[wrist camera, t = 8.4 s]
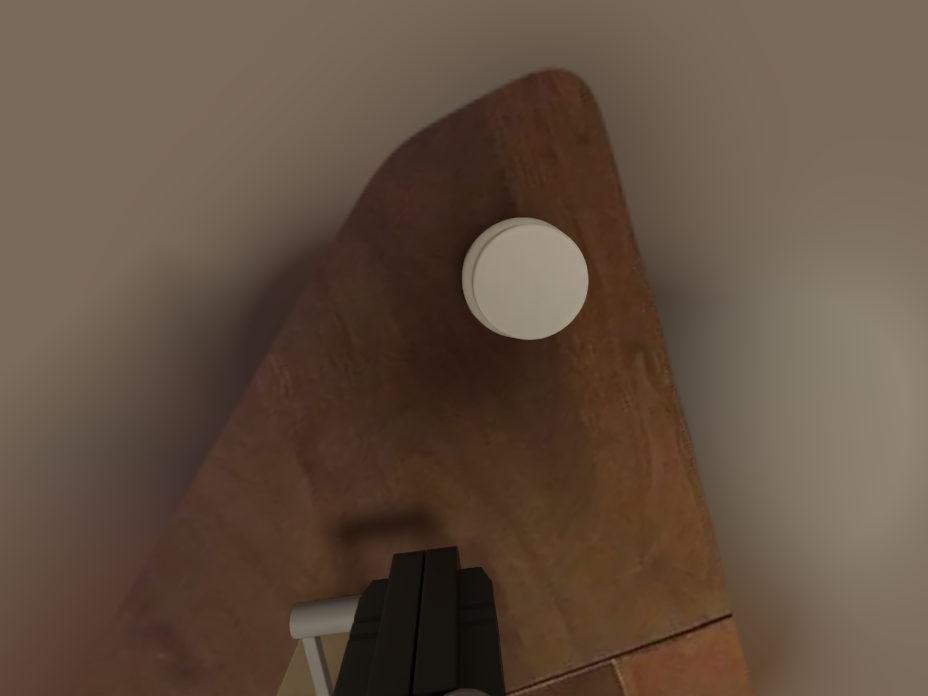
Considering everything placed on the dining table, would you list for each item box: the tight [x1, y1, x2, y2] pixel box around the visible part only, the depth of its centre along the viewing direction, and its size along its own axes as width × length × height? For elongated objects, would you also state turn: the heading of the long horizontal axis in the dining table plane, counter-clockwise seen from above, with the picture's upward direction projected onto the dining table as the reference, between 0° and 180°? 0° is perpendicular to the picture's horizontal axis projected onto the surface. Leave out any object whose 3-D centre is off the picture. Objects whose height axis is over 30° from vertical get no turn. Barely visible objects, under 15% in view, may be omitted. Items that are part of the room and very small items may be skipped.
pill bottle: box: [462, 217, 588, 340], centre depth 20 cm, size 5×5×8 cm
